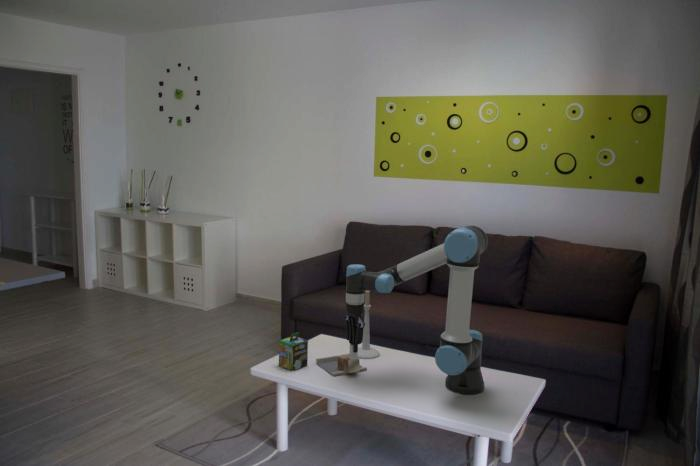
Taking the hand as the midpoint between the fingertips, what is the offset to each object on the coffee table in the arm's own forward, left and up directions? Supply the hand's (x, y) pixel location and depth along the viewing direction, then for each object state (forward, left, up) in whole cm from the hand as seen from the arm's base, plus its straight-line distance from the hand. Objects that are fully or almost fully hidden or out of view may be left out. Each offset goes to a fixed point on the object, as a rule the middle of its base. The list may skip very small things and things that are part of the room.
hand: (353, 358), depth 236 cm
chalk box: (+21, +18, -7) cm, 28 cm away
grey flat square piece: (+11, 0, -7) cm, 13 cm away
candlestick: (+21, -18, -7) cm, 28 cm away
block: (-1, 0, -3) cm, 3 cm away
